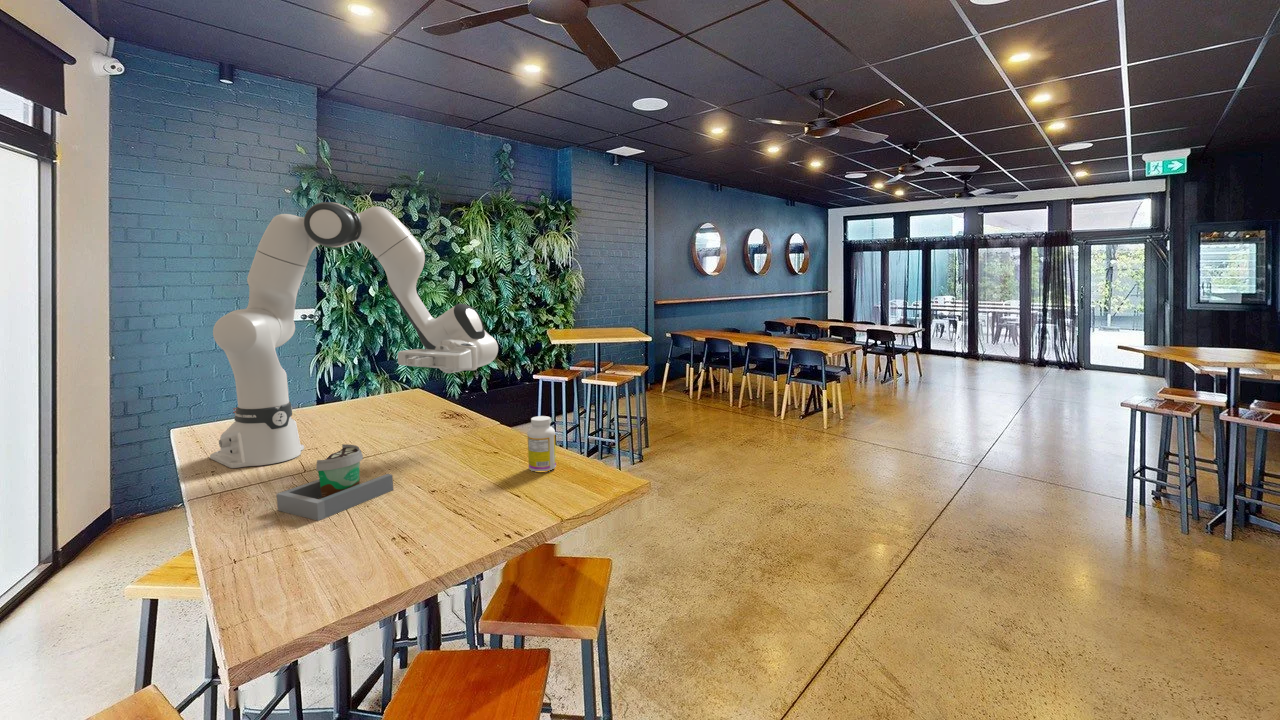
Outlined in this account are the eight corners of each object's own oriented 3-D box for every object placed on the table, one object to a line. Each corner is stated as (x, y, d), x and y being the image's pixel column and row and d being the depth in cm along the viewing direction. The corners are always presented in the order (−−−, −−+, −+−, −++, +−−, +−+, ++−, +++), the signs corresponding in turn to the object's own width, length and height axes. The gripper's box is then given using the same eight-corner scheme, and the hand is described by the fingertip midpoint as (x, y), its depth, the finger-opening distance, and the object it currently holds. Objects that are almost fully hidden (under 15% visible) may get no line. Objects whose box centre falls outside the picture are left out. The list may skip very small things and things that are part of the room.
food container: (350, 508, 117) (346, 460, 116) (319, 508, 117) (315, 461, 116) (374, 486, 129) (371, 443, 128) (346, 486, 129) (343, 443, 128)
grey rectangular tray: (277, 510, 116) (276, 493, 115) (354, 482, 132) (353, 467, 132) (318, 520, 111) (317, 503, 110) (393, 489, 127) (392, 474, 127)
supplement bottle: (542, 463, 146) (541, 413, 144) (561, 468, 142) (560, 417, 140) (522, 470, 140) (521, 418, 139) (542, 475, 137) (540, 422, 135)
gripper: (421, 342, 156) (379, 348, 144) (481, 345, 148) (442, 352, 135) (422, 365, 157) (380, 372, 145) (482, 370, 149) (443, 378, 136)
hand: (410, 362), depth 140 cm, fingers closed
